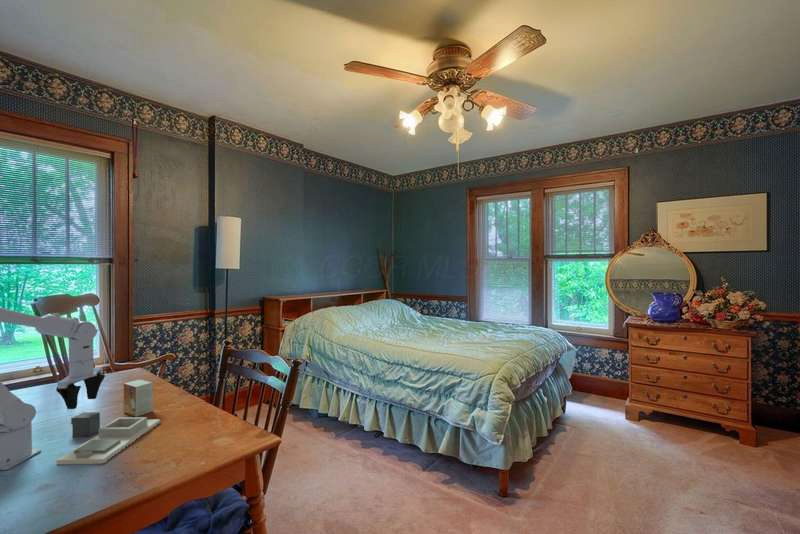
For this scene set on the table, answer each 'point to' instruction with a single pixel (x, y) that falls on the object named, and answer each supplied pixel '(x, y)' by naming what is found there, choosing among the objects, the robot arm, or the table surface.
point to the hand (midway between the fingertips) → (82, 403)
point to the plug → (85, 424)
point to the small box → (138, 397)
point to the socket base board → (109, 440)
